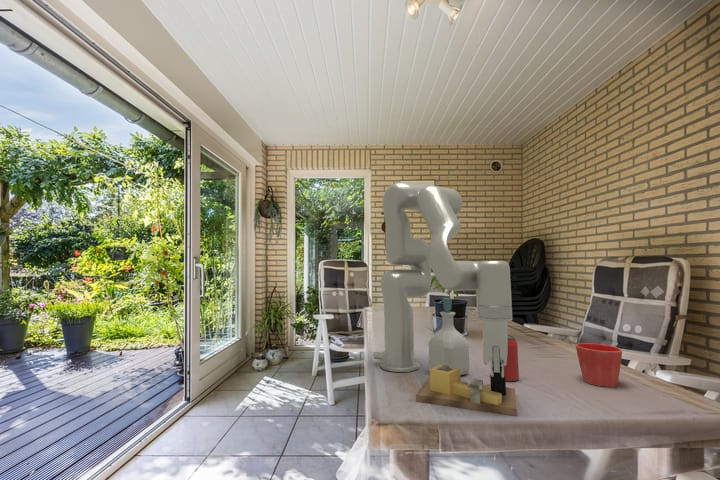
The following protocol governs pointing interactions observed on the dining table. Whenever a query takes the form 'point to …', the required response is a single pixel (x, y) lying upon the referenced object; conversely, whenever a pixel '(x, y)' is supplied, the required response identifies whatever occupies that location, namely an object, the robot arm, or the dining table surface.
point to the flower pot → (599, 363)
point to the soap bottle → (449, 343)
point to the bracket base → (473, 402)
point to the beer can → (511, 361)
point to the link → (458, 385)
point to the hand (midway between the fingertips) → (498, 393)
